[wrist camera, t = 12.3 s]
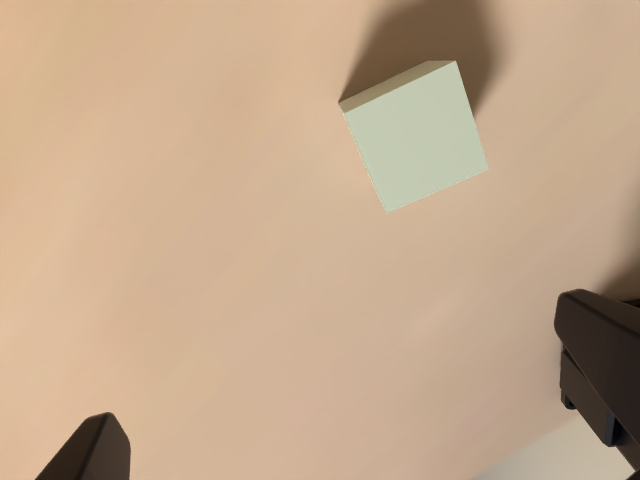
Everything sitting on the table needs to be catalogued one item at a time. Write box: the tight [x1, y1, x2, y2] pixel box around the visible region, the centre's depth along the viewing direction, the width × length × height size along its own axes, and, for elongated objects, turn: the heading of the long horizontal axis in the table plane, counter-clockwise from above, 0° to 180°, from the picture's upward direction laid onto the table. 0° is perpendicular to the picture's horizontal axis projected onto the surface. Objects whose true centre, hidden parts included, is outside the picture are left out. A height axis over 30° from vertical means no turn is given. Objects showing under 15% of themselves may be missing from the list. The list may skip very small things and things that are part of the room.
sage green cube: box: [338, 61, 489, 214], centre depth 17 cm, size 4×4×4 cm
